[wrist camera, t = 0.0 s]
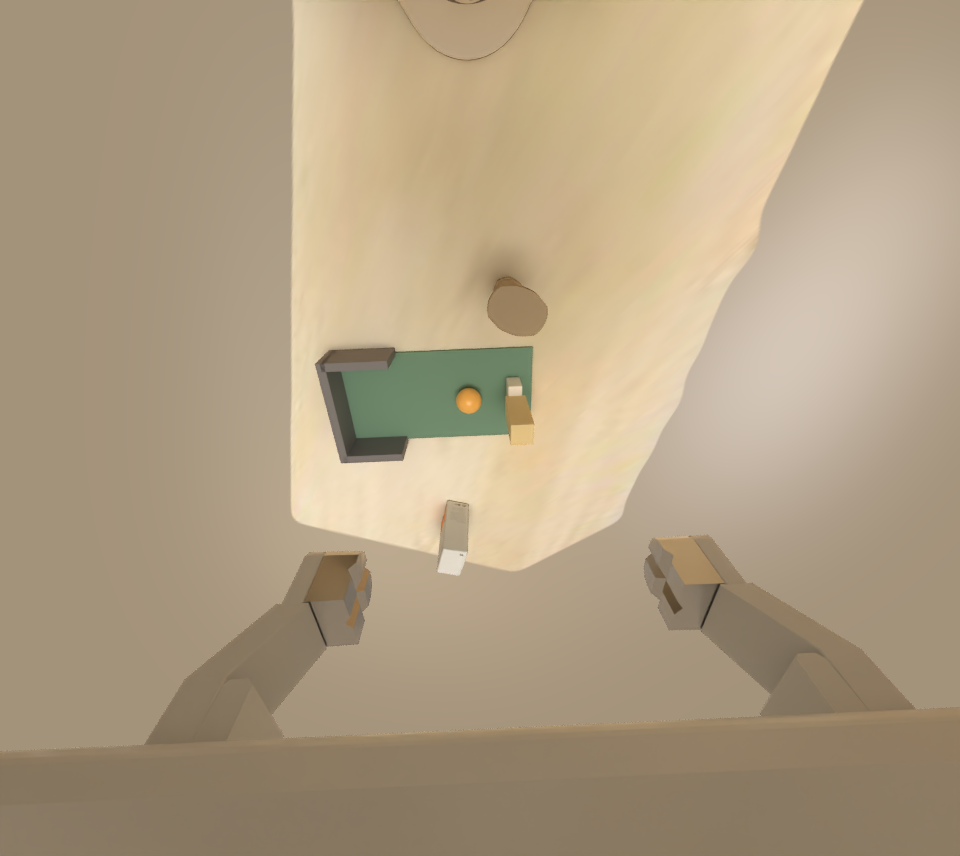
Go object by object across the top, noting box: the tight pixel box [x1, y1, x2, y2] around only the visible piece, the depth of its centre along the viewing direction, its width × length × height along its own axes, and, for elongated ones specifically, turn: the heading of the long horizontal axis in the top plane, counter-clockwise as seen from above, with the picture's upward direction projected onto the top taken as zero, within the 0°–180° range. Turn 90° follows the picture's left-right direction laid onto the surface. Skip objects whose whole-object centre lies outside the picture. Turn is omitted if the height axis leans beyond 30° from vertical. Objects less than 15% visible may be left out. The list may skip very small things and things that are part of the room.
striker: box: [505, 377, 534, 445], centre depth 54 cm, size 6×3×13 cm, turn 2°
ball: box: [456, 388, 482, 414], centre depth 58 cm, size 4×4×4 cm
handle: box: [487, 277, 548, 336], centre depth 46 cm, size 5×6×15 cm
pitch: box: [341, 347, 533, 439], centre depth 60 cm, size 15×31×1 cm, turn 92°
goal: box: [315, 348, 408, 463], centre depth 58 cm, size 16×10×6 cm, turn 2°
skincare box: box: [437, 501, 469, 576], centre depth 68 cm, size 6×4×12 cm
